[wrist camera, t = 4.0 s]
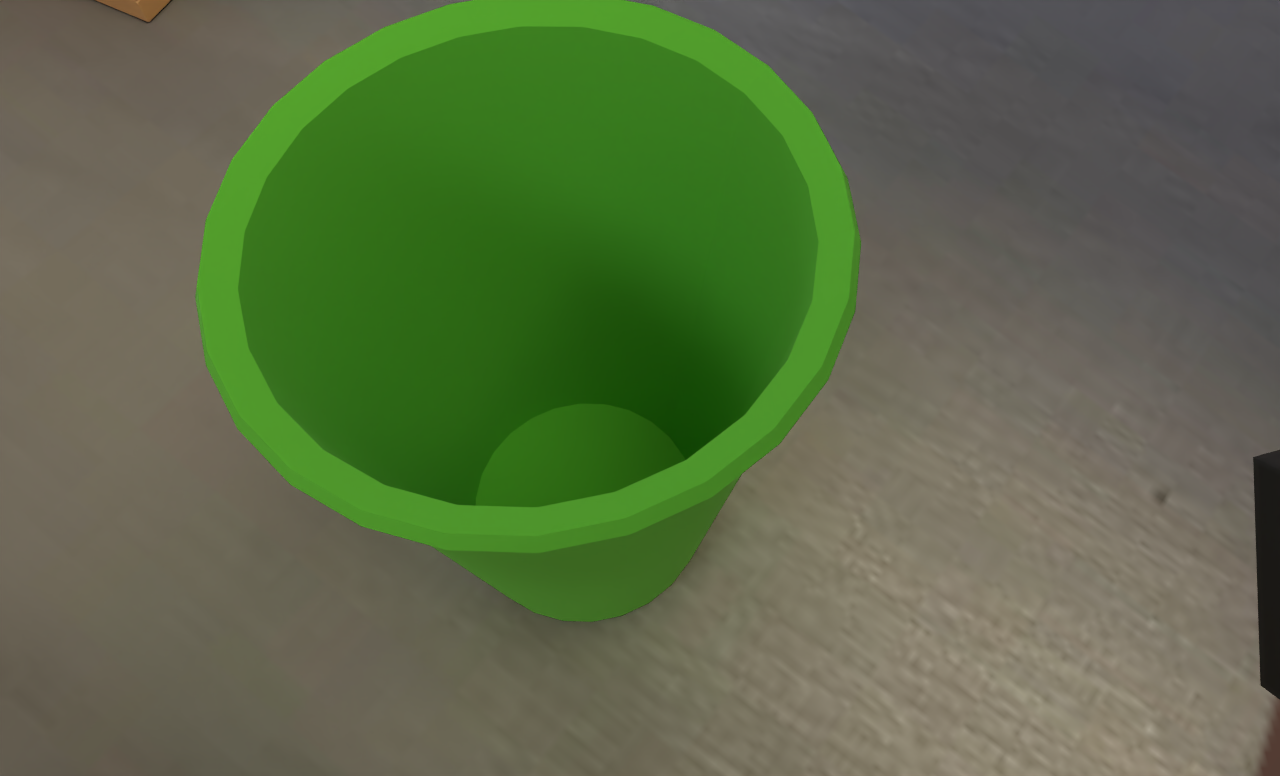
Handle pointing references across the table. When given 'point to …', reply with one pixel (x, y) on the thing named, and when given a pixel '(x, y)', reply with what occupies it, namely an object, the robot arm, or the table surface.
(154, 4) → the square wooden tray
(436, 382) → the cup
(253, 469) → the table surface
